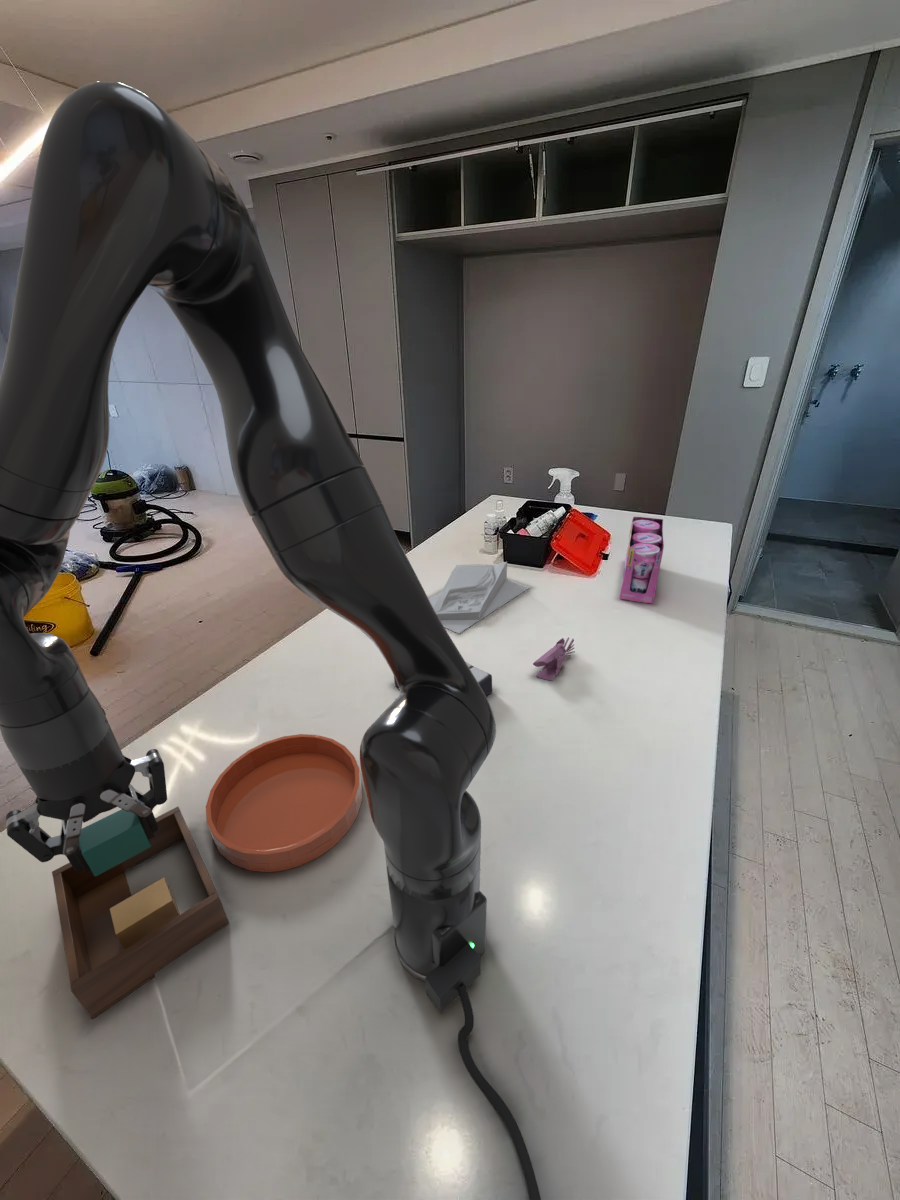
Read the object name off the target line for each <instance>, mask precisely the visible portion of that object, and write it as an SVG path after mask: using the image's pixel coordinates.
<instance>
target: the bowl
mask: <svg viewBox="0 0 900 1200" xmlns="http://www.w3.org/2000/svg"><path fill="white" fill-rule="evenodd" d="M359 767H360V766H359V765H358V762H357V760H356V757H355V756H354V754H353V753H352V752H351V750H349V748H348V747H346V746H345V745H344V744H342V743H340V742H339V741H337V740H335V739H333V738H330V737H326V736H322V735H319V734H306V733H298V734H292V735H291V734H290V735H285V736H284V735H283V736H281V737H277V738H274V739H270V740H266V741H265V742H262V743H260V744H258V745H256V746H255V747H252V748H251V749H249V750H247V751H246V752H244V753H243V754H241V755H240V756H238V757H237V758H235V760H233V761H232V762H231V763H230V764H229V765H228V766H226V768H225V769H224V770H223V771H222V772H221V773H220V775H218V777H217V779H216V781H215V782H214V784H213V785H212V787H211V789H210V791H209V793H208V798H207V801H206V803H205V804H206V805H205V818H206V825H207V827H208V831H209V832H210V835H211V837H212V840H213V842H214V844H215V847H216V848H217V850H218V853H219V854H220V855H221V856H222V857H224V858H225V859H226V860H227V861H228V862H229V863H231V864H232V865H234V866H236V867H239V868H241V869H244V870H247V871H252V872H259V873H275V872H280V871H287V870H290V869H294V868H297V867H300V866H303V865H305V864H307V863H310V862H312V861H314V860H316V859H317V858H319V857H321V856H322V855H324V854H325V853H326V852H328V851H329V850H331V849H332V848H334V847H335V845H336V844H338V843H339V842H340V841H341V840H342V839H343V838H344V837H345V835H346V834H347V833H348V832H349V830H350V829H351V827H352V826H353V824H354V822H355V820H356V819H357V817H358V815H359V812H360V808H361V805H362V802H363V788H362V779H361V770H360V768H359Z"/></svg>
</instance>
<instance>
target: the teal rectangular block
mask: <svg viewBox="0 0 900 1200" xmlns="http://www.w3.org/2000/svg"><path fill="white" fill-rule="evenodd" d="M79 843H80V848H81V853H82V855H83V857H84V858H85V860H86V862H87V864H88V865H89V867H90V869H91V870H92V872H93V874H94V876H95V877H96V876H98V875H100V874H102V873H103V872H105V871H107V870H109V869H111V868H113V867H115V866H116V865H118V864H120V863H122V862H124V861H126V860H128V859H129V858H131V857H133V856H135V855H137V854H139V853H140V852H142V851H144V850H146V849H148V848H150V847H151V845H150V842H149V840H148V838H147V836H146V833H145V831H144V829H143V827H142V825H141V823H140V821H139V818H138V815H136V814H134V813H133V812H131V811H129V812H126V811H124V810H123V809H121V808H120V810H117V811H115V812H113V813H111V814H109V815H107V816H105V817H103V818H101V819H99V820H97V821H94V822H93V823H91V824H89V825H87V826H85V827H82V829H81V835H80V836H79Z"/></svg>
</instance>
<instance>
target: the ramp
mask: <svg viewBox="0 0 900 1200" xmlns="http://www.w3.org/2000/svg"><path fill="white" fill-rule="evenodd" d="M507 576H508V561H504V562H499V563H495V564H480V563H479V564H476V563H475V564H456V565H455V567H454V568H453V569H452V571H451V573H450V574H449V577H448V579H447V581H446V582H445V584H444V587H443V589H442V590H441V591H440V592H438V593H436V594H434V595H432V596H431V597H428V599H429V601H430V603H431V605H432V607H433V609H434V611H435V613H436V614H437V616H438V618H439V619H440V621H441V623H442V625H443V626H444V628H445V629H446V630H449V631H451V632H454V633H455V634H458V635H459V634H461V633H462V632H465V630H467V629H468V628H471V627H472V626H473V625H475V624H476V623H478V622H480V621H481V620H482V619H484V618H486V617H487V616H489V615H490V614H492V613H494V612H495V611H496V610H498V609H499V608H501V607H503V606H504V605H506V604H507V603H509V602H510V601H512V600H514V599H515V598H517V597H518V596H519V595H521V594H523V593H524V592H526V591H527V590H528V589H530V588H531V587H530V586H528V585H525V584H523V583H519V582H516V581H513V580H511V579H508V578H507Z"/></svg>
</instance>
